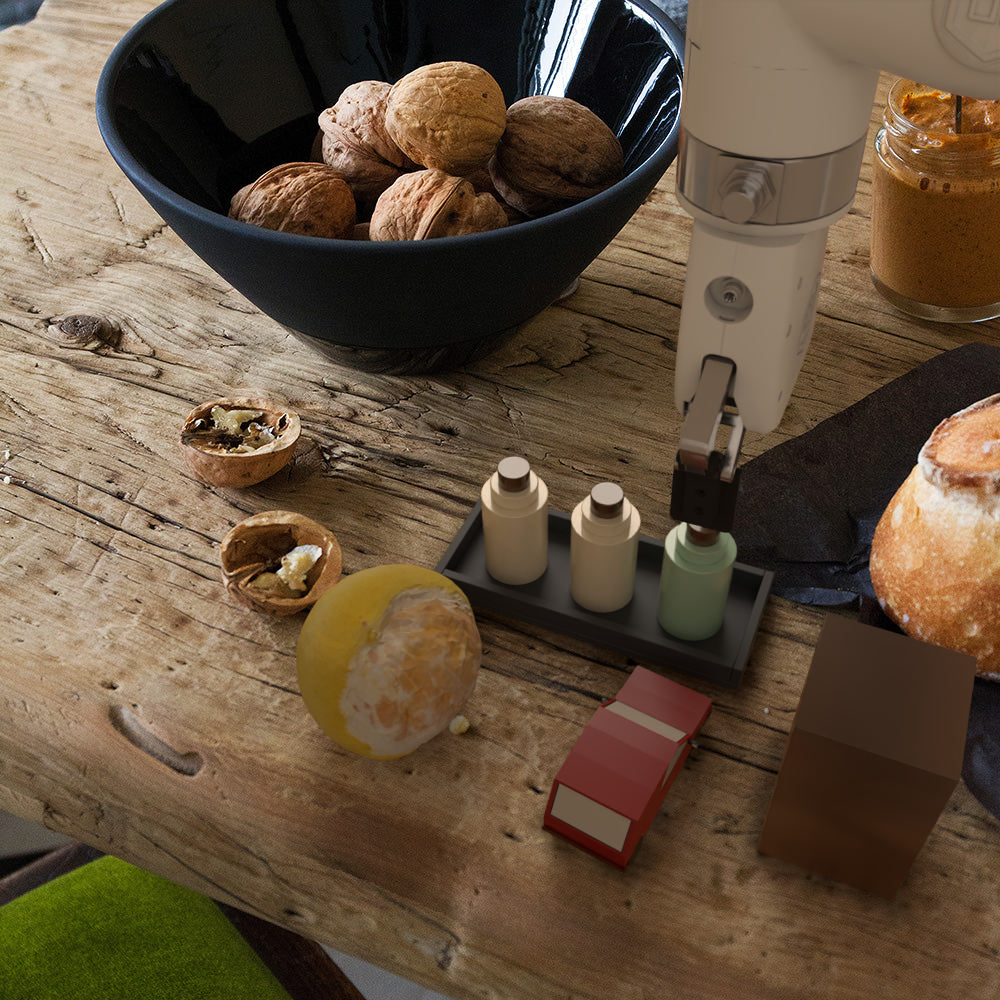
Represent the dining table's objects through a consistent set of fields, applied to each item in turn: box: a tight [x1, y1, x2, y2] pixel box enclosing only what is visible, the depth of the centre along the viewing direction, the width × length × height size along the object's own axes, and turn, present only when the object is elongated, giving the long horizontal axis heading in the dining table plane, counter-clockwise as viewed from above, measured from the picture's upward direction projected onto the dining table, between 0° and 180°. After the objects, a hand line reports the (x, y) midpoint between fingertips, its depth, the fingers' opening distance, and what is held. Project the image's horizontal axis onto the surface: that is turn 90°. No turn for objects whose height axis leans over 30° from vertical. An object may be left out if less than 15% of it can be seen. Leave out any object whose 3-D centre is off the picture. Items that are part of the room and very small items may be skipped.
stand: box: [755, 612, 978, 902], centre depth 51 cm, size 7×7×12 cm
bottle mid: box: [569, 481, 642, 613], centre depth 64 cm, size 4×4×9 cm
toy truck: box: [541, 665, 716, 875], centre depth 56 cm, size 6×12×5 cm, turn 149°
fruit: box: [295, 563, 483, 761], centre depth 58 cm, size 10×11×10 cm
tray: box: [433, 496, 776, 692], centre depth 66 cm, size 20×8×2 cm, turn 66°
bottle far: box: [480, 456, 549, 585], centre depth 65 cm, size 4×4×9 cm
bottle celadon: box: [656, 522, 738, 641], centre depth 62 cm, size 4×4×9 cm
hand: (726, 461), depth 55 cm, fingers open, 9 cm apart
